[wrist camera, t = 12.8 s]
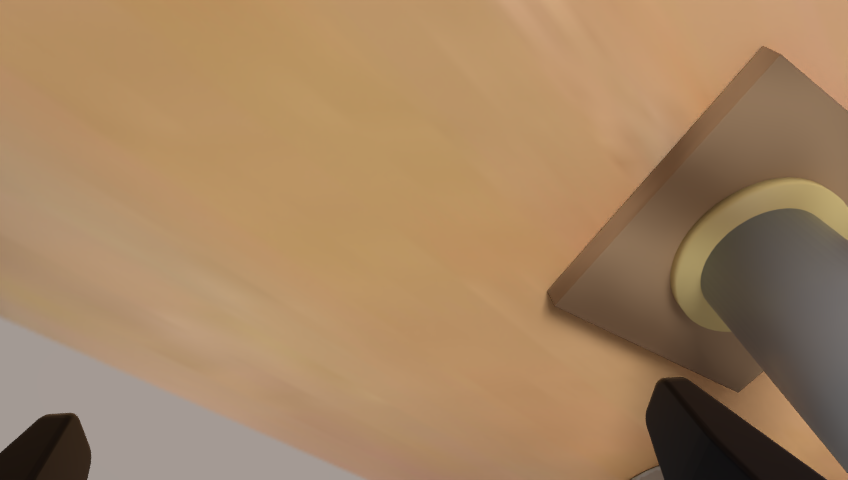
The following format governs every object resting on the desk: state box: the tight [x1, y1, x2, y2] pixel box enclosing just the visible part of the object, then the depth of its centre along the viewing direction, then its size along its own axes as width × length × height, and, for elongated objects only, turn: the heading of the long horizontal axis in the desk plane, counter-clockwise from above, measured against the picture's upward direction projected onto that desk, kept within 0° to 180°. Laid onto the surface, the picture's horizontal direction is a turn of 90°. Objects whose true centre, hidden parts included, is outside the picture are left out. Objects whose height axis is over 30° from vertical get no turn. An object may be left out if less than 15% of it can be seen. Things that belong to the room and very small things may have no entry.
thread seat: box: [547, 46, 848, 392], centre depth 25 cm, size 12×12×2 cm
